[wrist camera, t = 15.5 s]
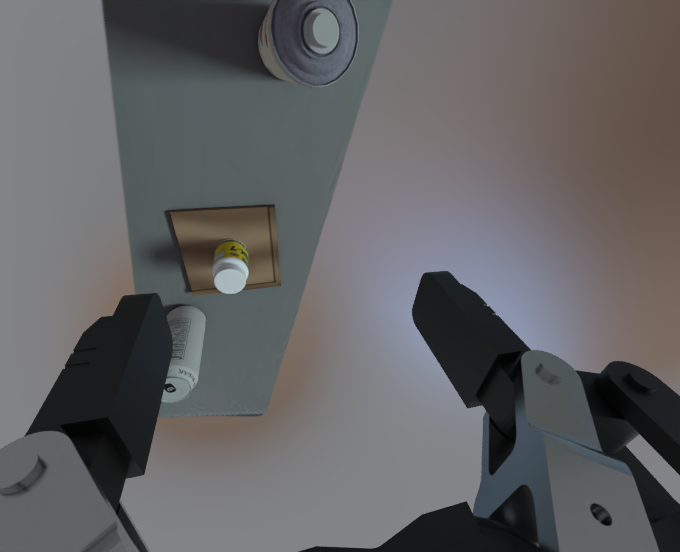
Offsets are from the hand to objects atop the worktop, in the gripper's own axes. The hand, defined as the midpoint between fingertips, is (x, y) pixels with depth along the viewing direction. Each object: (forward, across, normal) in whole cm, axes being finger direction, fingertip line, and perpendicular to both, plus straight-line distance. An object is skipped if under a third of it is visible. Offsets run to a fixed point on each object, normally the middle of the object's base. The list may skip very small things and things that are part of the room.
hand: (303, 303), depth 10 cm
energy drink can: (+36, +14, +32) cm, 50 cm away
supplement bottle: (+36, +5, +19) cm, 41 cm away
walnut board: (+36, +5, +19) cm, 42 cm away
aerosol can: (+38, -4, -7) cm, 39 cm away
